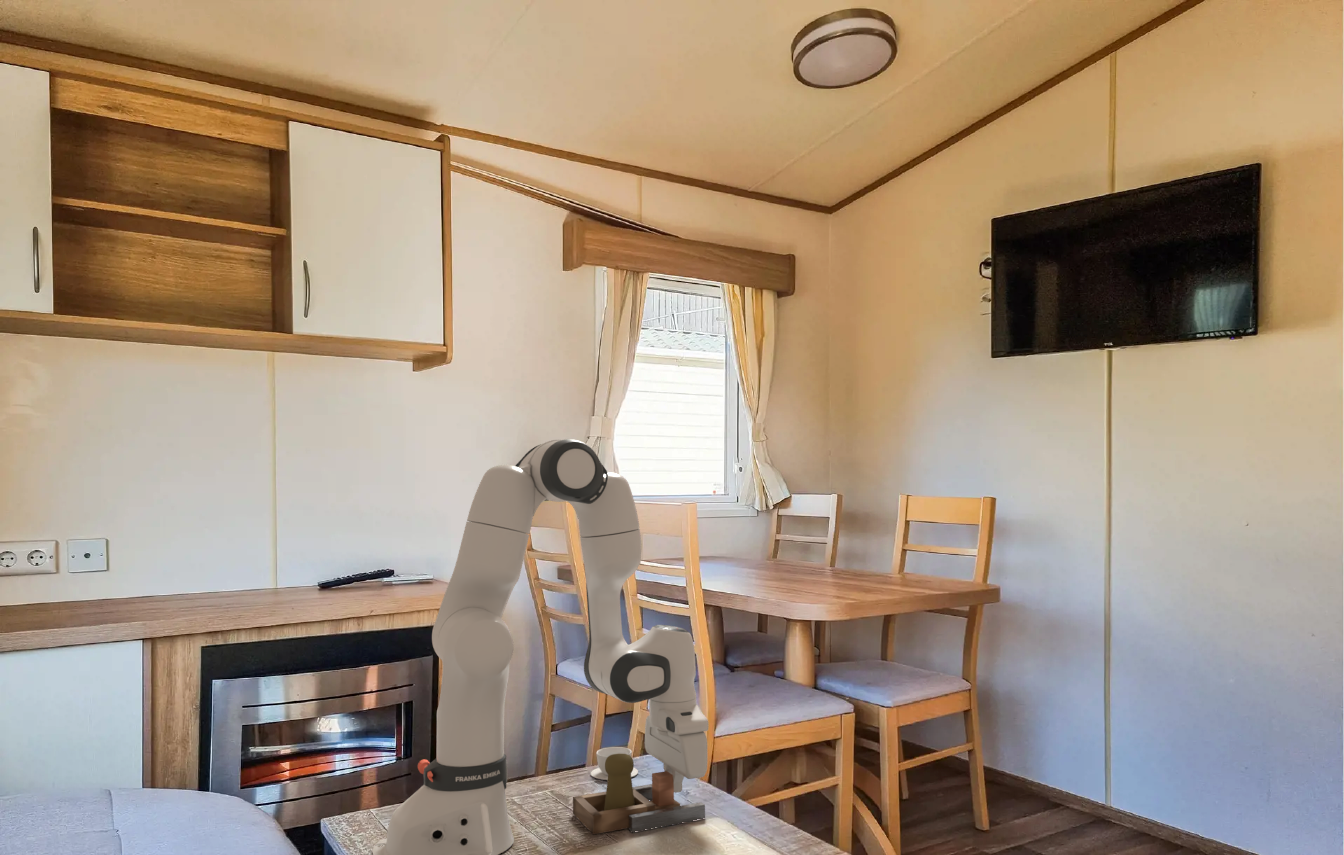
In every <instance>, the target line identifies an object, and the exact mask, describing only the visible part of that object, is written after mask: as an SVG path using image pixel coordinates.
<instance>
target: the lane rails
mask: <svg viewBox="0 0 1344 855" xmlns="http://www.w3.org/2000/svg"><path fill="white" fill-rule="evenodd" d="M632 787H633V789H635V790H636V791H637V792H638V793H640V794H641V795H642V796H644V797H645V798H646V799H648V800H651V801H652V783H650V784H642V785H638V786H637V785H636V786H632ZM703 818H705V819H706V804H705V803H703V802H702V801H700V802H695V803H689V804H684V805H680V806H677V807H671V808H666V809H660V810H655V811H649V812H643V813H638V814H632V815H629V828H628V831H629V830H630V831H632V832H635V831H641V832H643V831H642V830H645V829H651V828H655V827H661V826H667V827H669V826H668V825H672V824H677V825H679V824H678V823H682V822H688V823H691V822H690V821H693V820H697V819H703ZM693 822H694V821H693ZM672 826H673V825H672ZM651 830H652V829H651ZM630 831H629V832H630ZM632 832H631V833H632ZM635 833H636V832H635Z"/></svg>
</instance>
